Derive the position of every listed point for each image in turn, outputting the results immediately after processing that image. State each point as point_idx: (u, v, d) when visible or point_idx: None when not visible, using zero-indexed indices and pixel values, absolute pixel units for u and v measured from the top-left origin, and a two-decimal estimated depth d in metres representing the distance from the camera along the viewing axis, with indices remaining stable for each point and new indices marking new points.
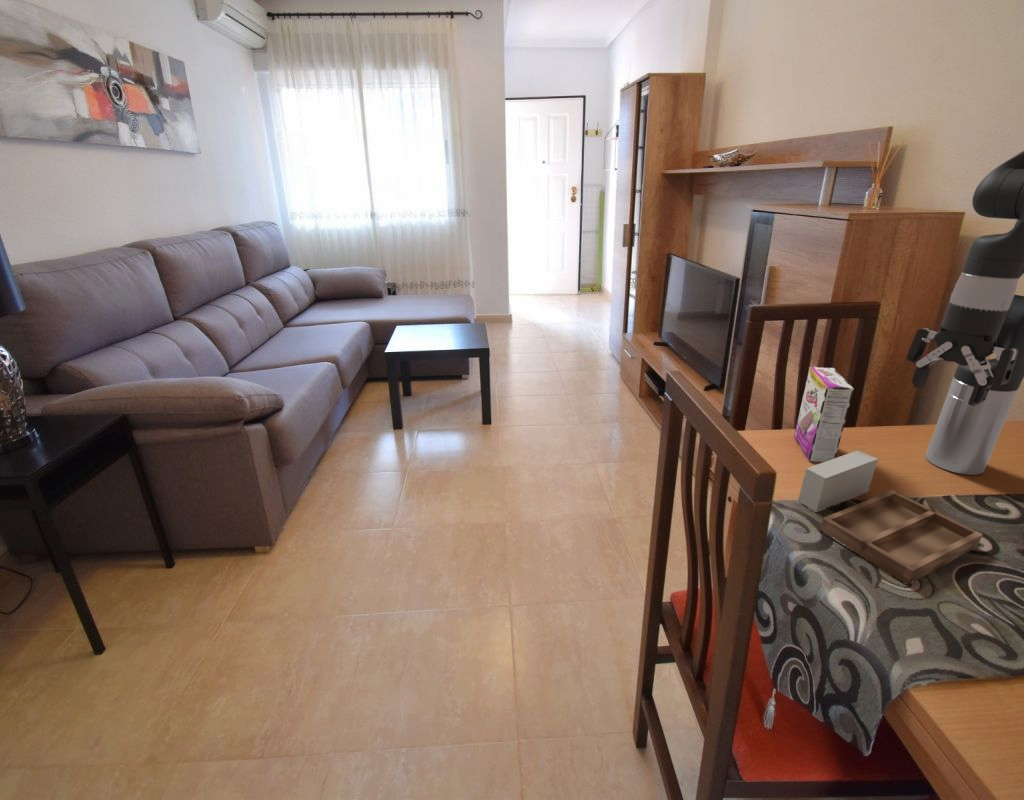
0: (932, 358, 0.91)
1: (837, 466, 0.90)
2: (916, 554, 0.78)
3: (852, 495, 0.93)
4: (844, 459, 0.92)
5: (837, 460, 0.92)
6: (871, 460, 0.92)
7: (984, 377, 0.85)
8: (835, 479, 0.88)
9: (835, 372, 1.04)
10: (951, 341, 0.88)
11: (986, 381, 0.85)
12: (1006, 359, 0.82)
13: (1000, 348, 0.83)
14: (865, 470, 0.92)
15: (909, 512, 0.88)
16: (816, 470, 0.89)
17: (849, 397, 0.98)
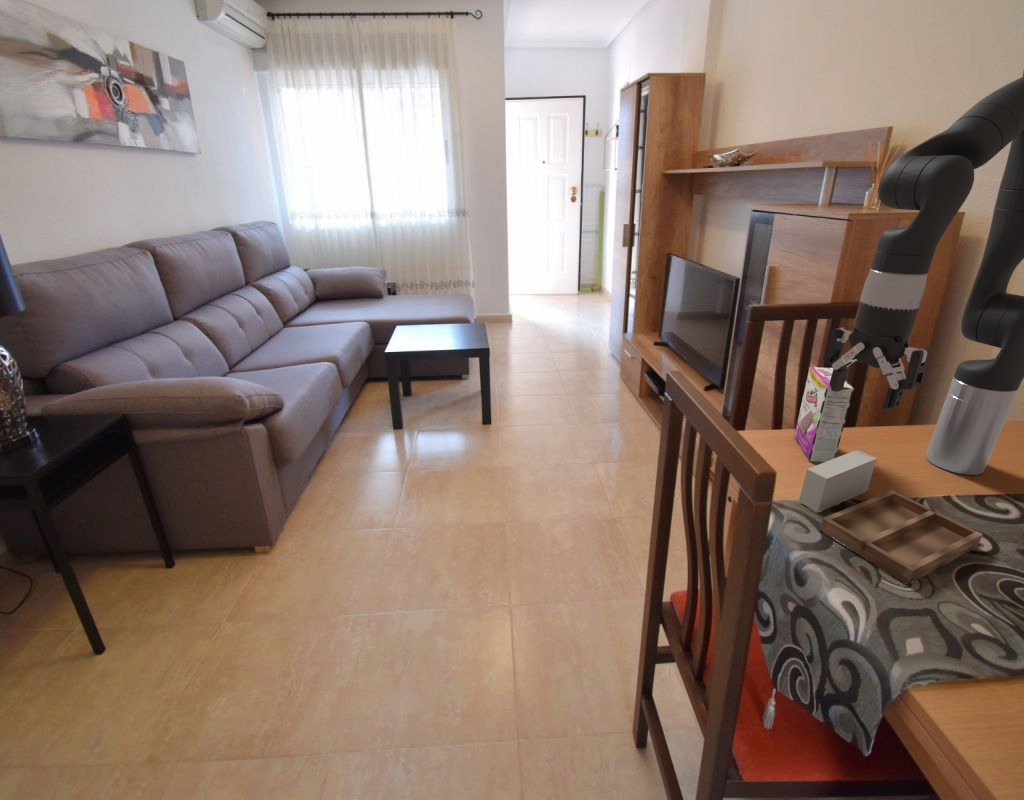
0: (846, 360, 0.85)
1: (837, 466, 0.90)
2: (916, 554, 0.78)
3: (851, 495, 0.93)
4: (844, 459, 0.92)
5: (836, 460, 0.92)
6: (870, 460, 0.92)
7: (896, 380, 0.79)
8: (836, 480, 0.88)
9: None
10: (863, 342, 0.82)
11: (898, 385, 0.79)
12: (916, 361, 0.77)
13: (911, 349, 0.78)
14: (865, 470, 0.92)
15: (909, 512, 0.88)
16: (817, 470, 0.89)
17: (849, 397, 0.98)
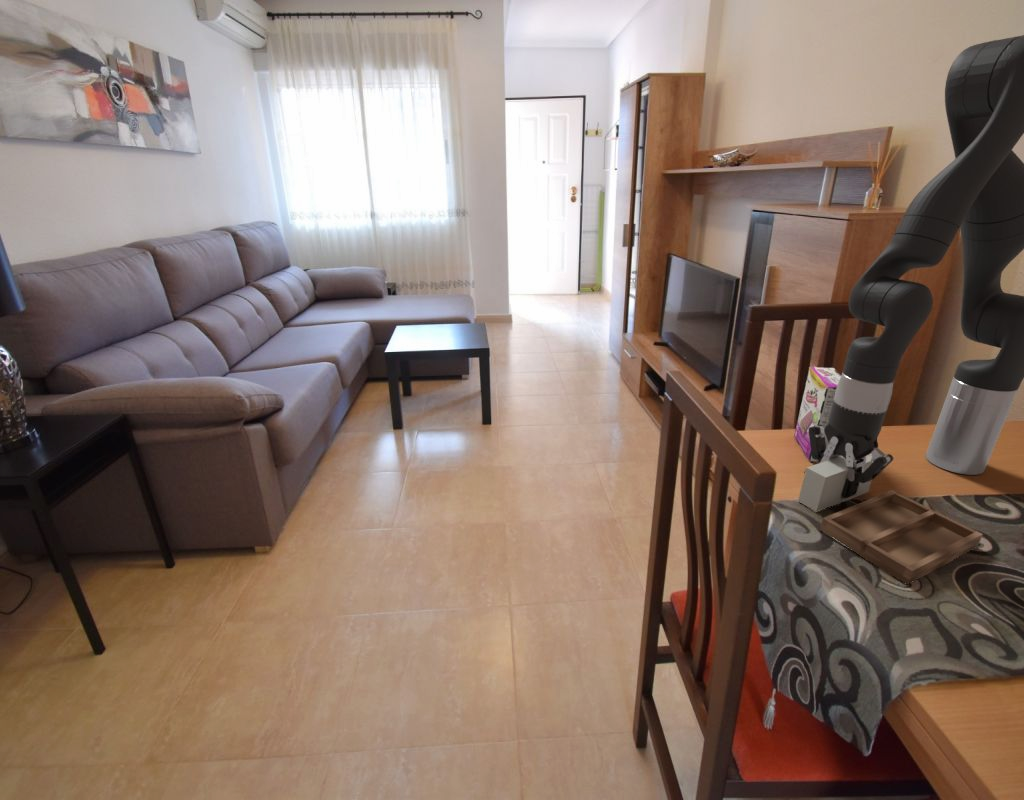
0: (829, 455, 0.91)
1: (837, 465, 0.90)
2: (916, 554, 0.78)
3: None
4: (844, 458, 0.92)
5: (837, 460, 0.92)
6: None
7: (853, 475, 0.88)
8: (836, 479, 0.88)
9: (835, 372, 1.04)
10: (835, 436, 0.89)
11: (854, 477, 0.88)
12: (877, 466, 0.84)
13: (878, 453, 0.85)
14: None
15: (909, 512, 0.88)
16: (816, 469, 0.89)
17: None
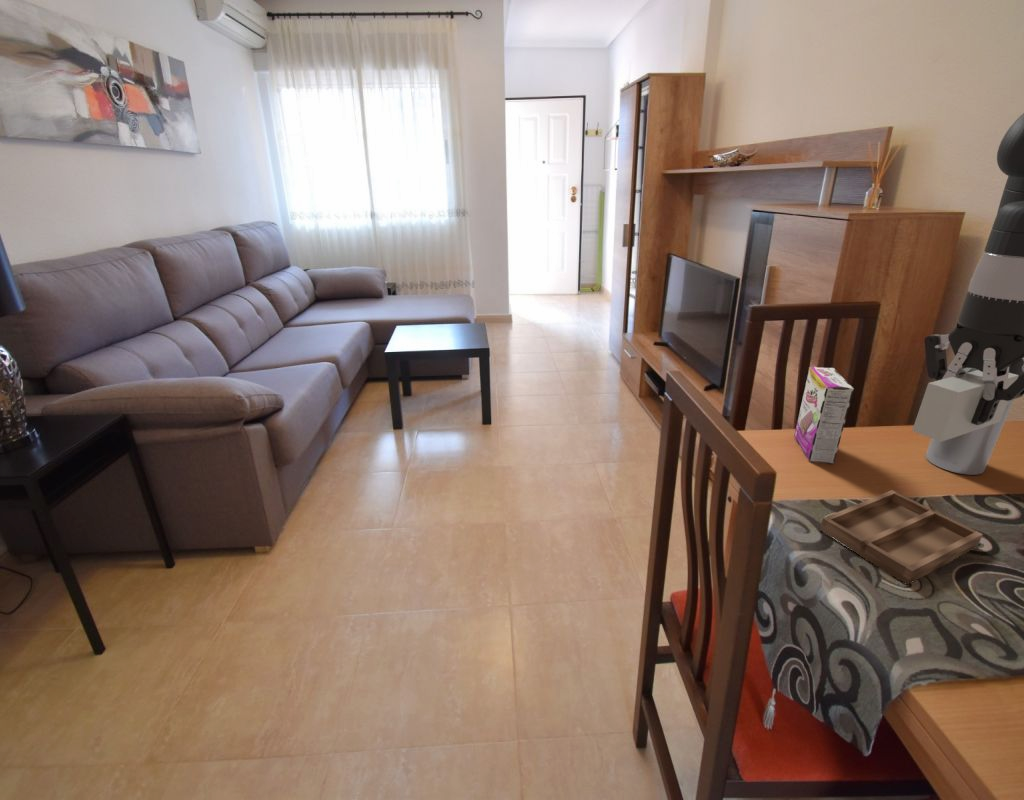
0: (956, 369, 0.70)
1: (967, 381, 0.69)
2: (916, 554, 0.78)
3: None
4: (974, 375, 0.71)
5: (965, 376, 0.70)
6: (1010, 376, 0.70)
7: (993, 391, 0.67)
8: (969, 396, 0.67)
9: (835, 372, 1.04)
10: (968, 342, 0.68)
11: (993, 395, 0.67)
12: None
13: None
14: None
15: (909, 512, 0.88)
16: (942, 384, 0.68)
17: (849, 397, 0.98)
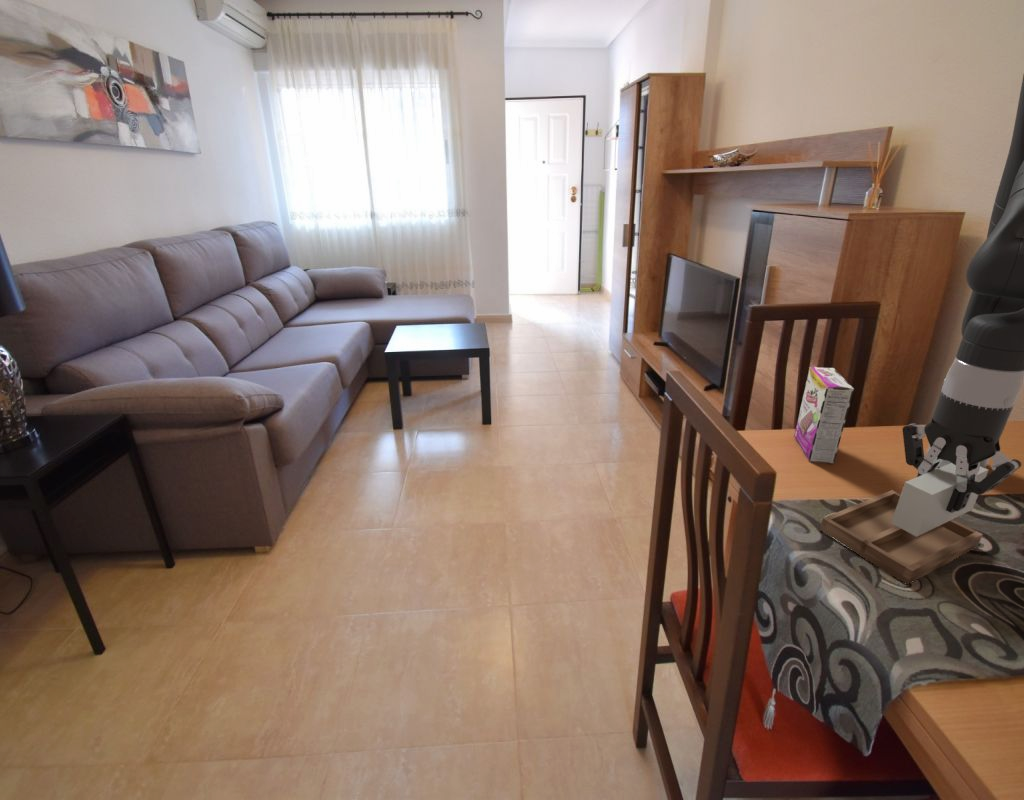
0: (932, 460, 0.75)
1: (941, 478, 0.74)
2: (916, 554, 0.78)
3: (956, 514, 0.77)
4: (947, 470, 0.76)
5: (939, 472, 0.76)
6: (981, 471, 0.76)
7: (965, 484, 0.72)
8: (942, 496, 0.73)
9: (835, 372, 1.04)
10: (942, 436, 0.73)
11: (965, 488, 0.72)
12: (1001, 474, 0.68)
13: (1002, 458, 0.68)
14: None
15: None
16: (917, 484, 0.73)
17: (849, 397, 0.98)
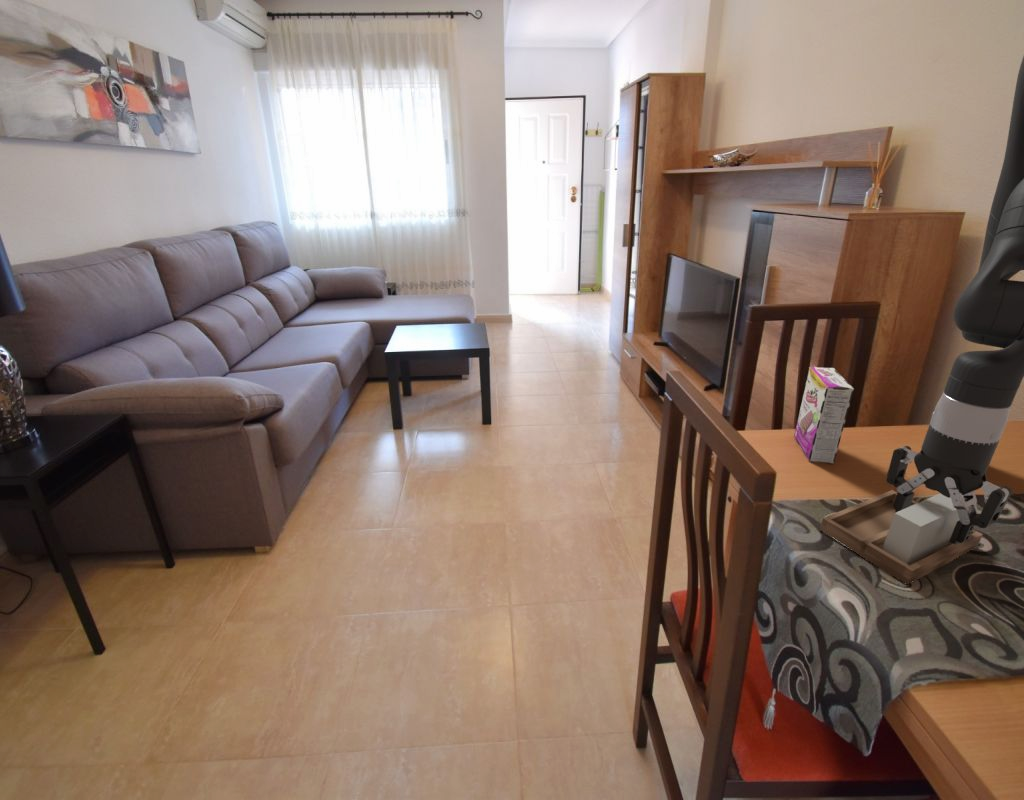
0: (914, 485, 0.77)
1: (930, 509, 0.77)
2: None
3: (944, 543, 0.79)
4: (936, 500, 0.79)
5: (928, 503, 0.78)
6: None
7: (967, 516, 0.72)
8: (931, 527, 0.75)
9: (835, 372, 1.04)
10: (932, 468, 0.75)
11: (969, 520, 0.72)
12: (995, 502, 0.69)
13: (990, 486, 0.70)
14: None
15: None
16: (907, 515, 0.75)
17: (849, 397, 0.98)
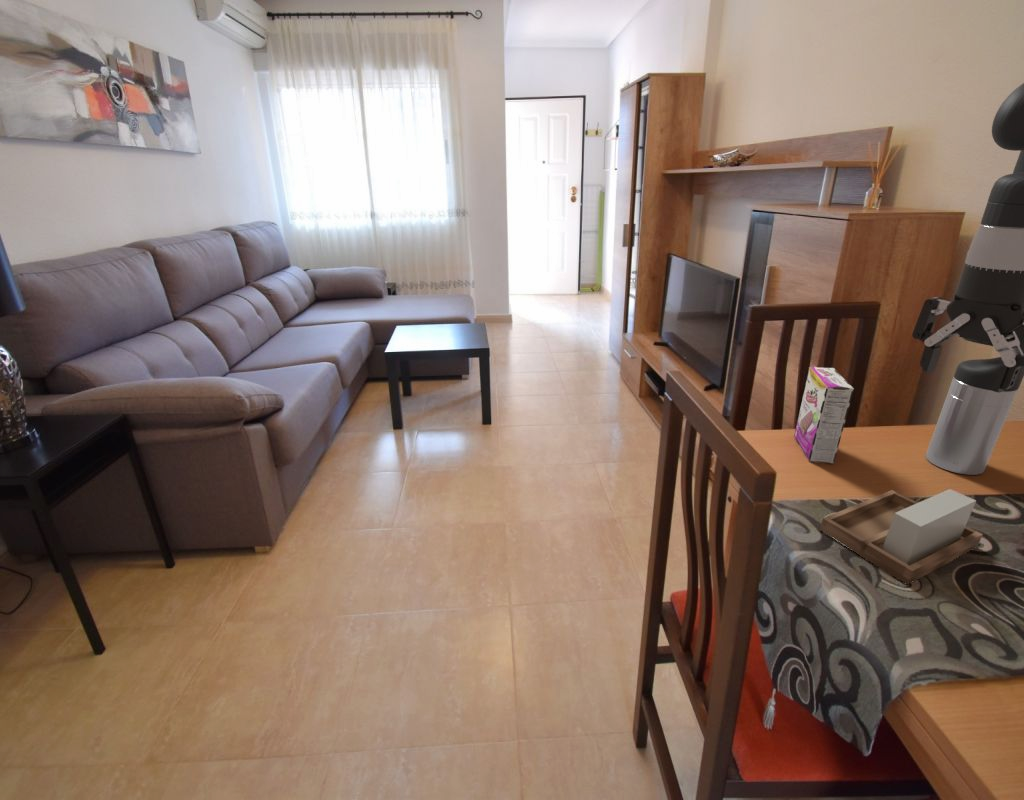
0: (945, 335, 0.73)
1: (930, 509, 0.77)
2: None
3: (944, 543, 0.79)
4: (936, 500, 0.79)
5: (928, 503, 0.78)
6: (969, 502, 0.78)
7: (1012, 356, 0.67)
8: (931, 527, 0.75)
9: (835, 372, 1.04)
10: (968, 313, 0.70)
11: (1015, 361, 0.67)
12: None
13: None
14: (962, 514, 0.78)
15: None
16: (907, 515, 0.75)
17: (849, 397, 0.98)
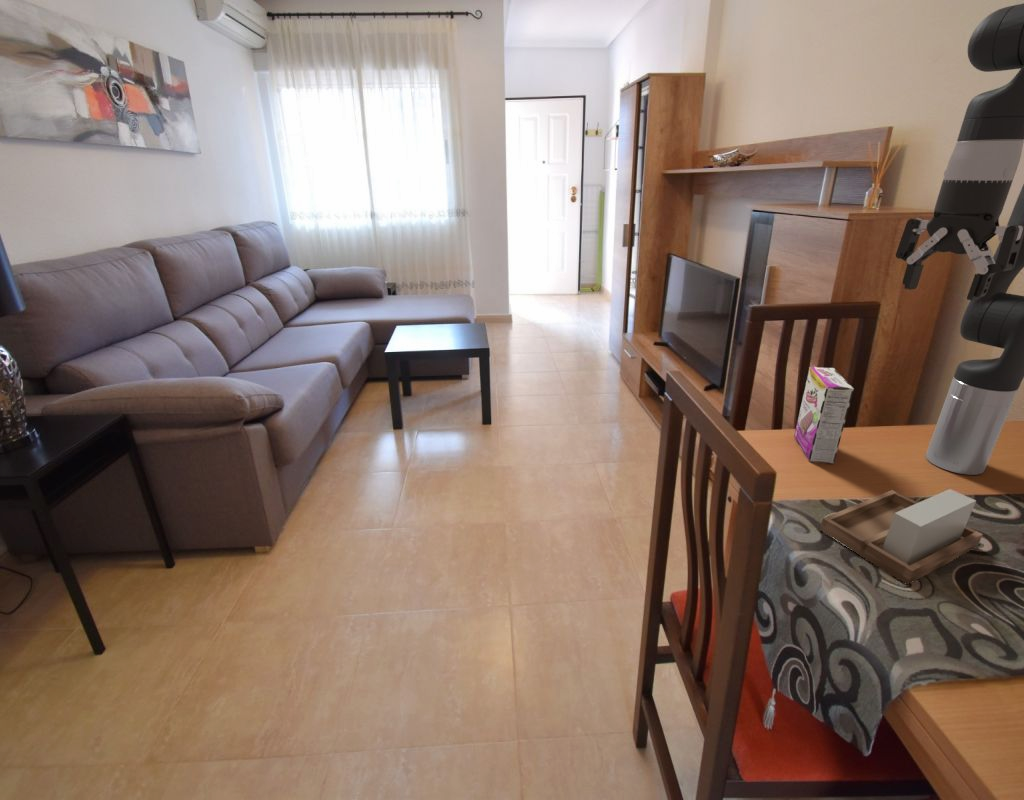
0: (925, 250, 0.79)
1: (930, 509, 0.77)
2: None
3: (944, 543, 0.79)
4: (936, 500, 0.79)
5: (928, 503, 0.78)
6: (969, 502, 0.78)
7: (985, 264, 0.73)
8: (931, 527, 0.75)
9: (835, 372, 1.04)
10: (945, 227, 0.76)
11: (987, 268, 0.73)
12: (1010, 238, 0.70)
13: (1003, 227, 0.71)
14: (962, 514, 0.78)
15: None
16: (907, 515, 0.75)
17: (849, 397, 0.98)
